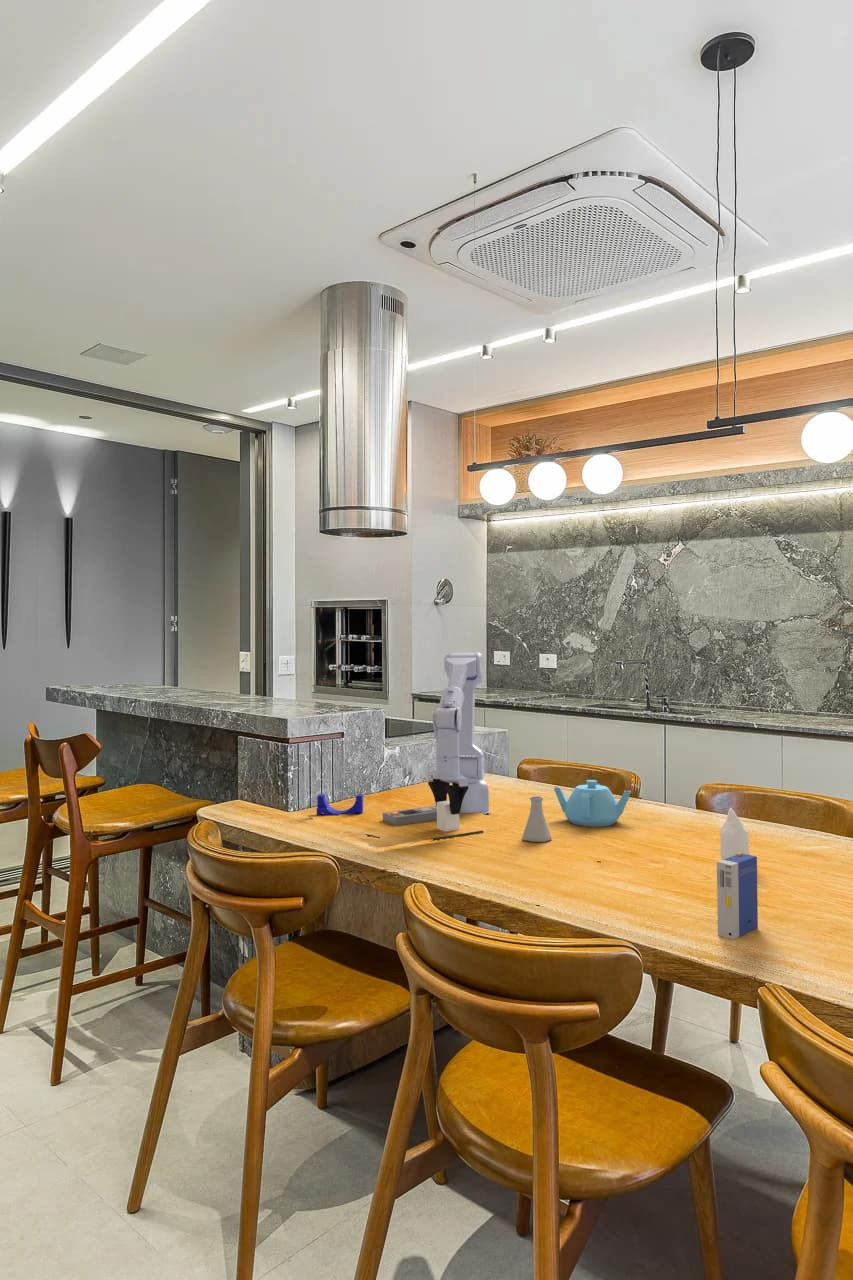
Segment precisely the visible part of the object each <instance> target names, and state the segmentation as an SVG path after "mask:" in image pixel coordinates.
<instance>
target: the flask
mask: <svg viewBox="0 0 853 1280" xmlns="http://www.w3.org/2000/svg"><path fill="white" fill-rule="evenodd" d="M529 800H530V809H529V815H528V818H527V821H526V824H525V827H524V831H523V834H522V840H523V841H526V842H527V841H528V842H532V843H533V842H535V843H536V842H537V843H545V842H548V841H552V840H553V839H552V834H551V832H550V828H549V826H548V824H547V821H546V818H545V815H544V810H543V805H542V804H543V800H544V797H543V796H539V795H533V796H529Z"/></svg>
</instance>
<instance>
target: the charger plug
mask: <svg viewBox="0 0 853 1280" xmlns="http://www.w3.org/2000/svg"><path fill="white" fill-rule="evenodd" d="M436 829H437V830H440V831H442V832H452V831H459V830H460V814H454V815H452V814H451V811H450V802H449V799H447V801H440V802H437V820H436Z"/></svg>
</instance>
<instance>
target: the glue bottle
mask: <svg viewBox="0 0 853 1280" xmlns="http://www.w3.org/2000/svg"><path fill="white" fill-rule="evenodd" d="M727 813H728V814H727V818H726V819H725V821H724V822H723V823H722V824H721V826H720V827H719V830H720V835H719V836H720V859H721V860H723V859H726V858H729V857H732V856H735V855H736V853H739V852H740V853H743V854H747V855H750V844H749V843H750V842H749V840H750V837H749V836H750V835H749V832H748V830H747V829H746V828H745V827H744V824H743V822H742V821H741V820H740V818H739V816H737V813H736V812H735V810H734V809H733V808H732V807H730V808H729V809H728V812H727Z"/></svg>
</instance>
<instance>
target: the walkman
mask: <svg viewBox="0 0 853 1280" xmlns="http://www.w3.org/2000/svg"><path fill="white" fill-rule="evenodd" d="M716 891H717V893H716V896H717V897H716V898H717V899H716V900H717V901H716V902H717V903H716V904H717V906H716V907H717V936H721V937H722V938H723V937H724V938H725V939H729V940H732V941H733V940H735V939H737V938H739V937H742V936H744V935H746V934H747V933H750V932H752V931H754V930H756V929H759V920H758V918H759V917H758V916H759V915H758V914H759V912H758V910H759V909H758V905H759V904H758V902H759V901H758V857H757V856H756V855H750V854H749V855H747V854H743V853H740V852H739V853H736V855H735V856H732V857H729V858H726V859H723V860H717V861H716Z"/></svg>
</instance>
